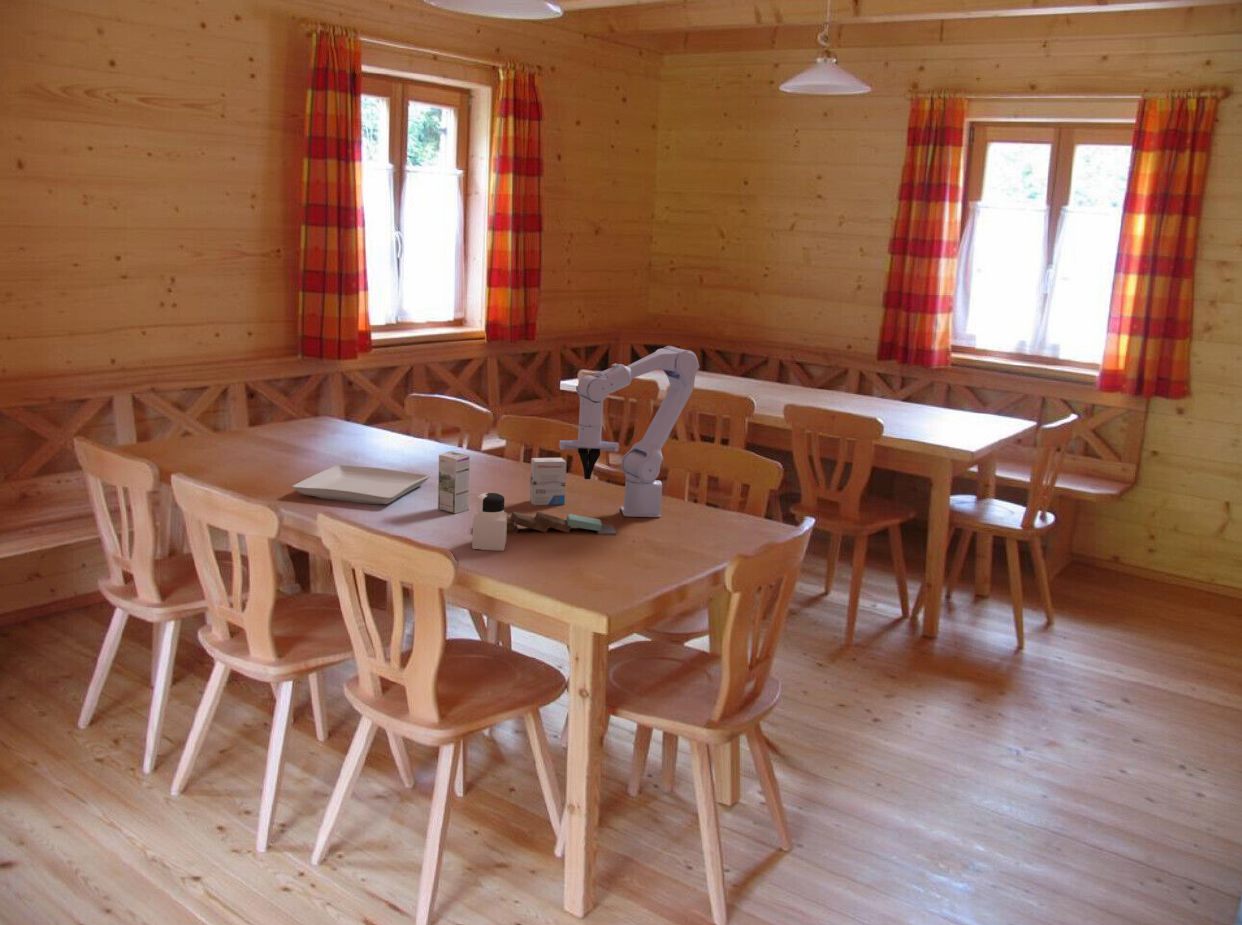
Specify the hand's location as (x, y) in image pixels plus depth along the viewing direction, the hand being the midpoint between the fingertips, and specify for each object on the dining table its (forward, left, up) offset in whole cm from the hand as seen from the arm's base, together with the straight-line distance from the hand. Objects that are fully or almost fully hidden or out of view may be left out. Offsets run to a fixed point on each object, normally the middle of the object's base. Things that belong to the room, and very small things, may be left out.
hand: (587, 478), depth 272 cm
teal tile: (-3, +10, -9) cm, 14 cm away
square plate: (+57, -21, -11) cm, 62 cm away
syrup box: (+33, -5, -11) cm, 35 cm away
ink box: (+9, -14, -11) cm, 20 cm away
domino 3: (+11, +10, -10) cm, 18 cm away
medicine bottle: (+24, +24, -11) cm, 35 cm away
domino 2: (+17, +10, -11) cm, 23 cm away
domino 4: (+5, +10, -10) cm, 15 cm away
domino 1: (+18, +11, -9) cm, 23 cm away
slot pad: (-4, +10, -10) cm, 15 cm away
